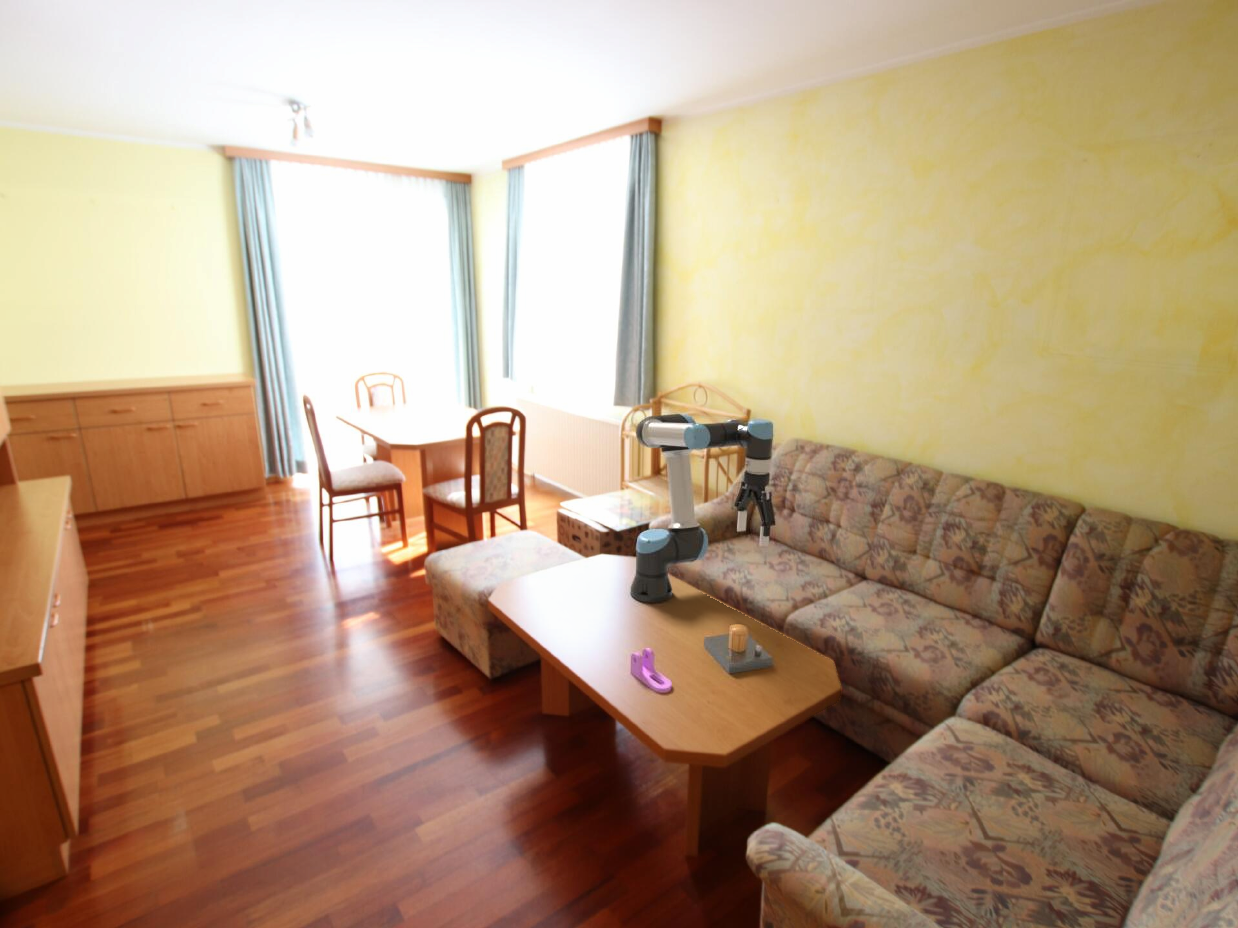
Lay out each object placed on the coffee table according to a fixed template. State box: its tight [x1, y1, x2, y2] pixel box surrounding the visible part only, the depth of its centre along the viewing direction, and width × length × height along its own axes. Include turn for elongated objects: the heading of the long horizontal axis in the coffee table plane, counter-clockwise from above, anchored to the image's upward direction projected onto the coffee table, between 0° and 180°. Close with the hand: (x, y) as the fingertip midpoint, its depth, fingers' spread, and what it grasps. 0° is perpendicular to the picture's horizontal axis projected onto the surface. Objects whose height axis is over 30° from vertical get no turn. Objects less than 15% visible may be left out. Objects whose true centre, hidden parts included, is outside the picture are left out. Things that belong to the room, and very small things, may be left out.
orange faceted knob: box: [728, 623, 748, 652], centre depth 193 cm, size 5×5×6 cm
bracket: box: [629, 647, 673, 694], centre depth 180 cm, size 13×6×7 cm, turn 37°
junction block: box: [703, 633, 773, 675], centre depth 193 cm, size 16×14×7 cm
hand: (752, 538), depth 199 cm, fingers open, 13 cm apart
